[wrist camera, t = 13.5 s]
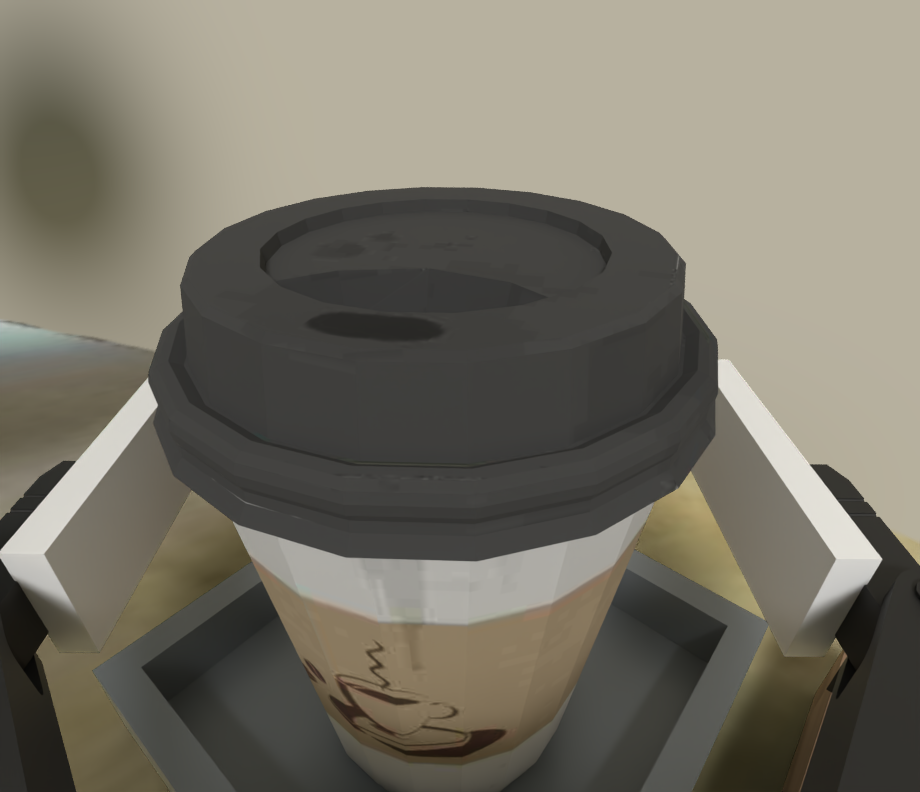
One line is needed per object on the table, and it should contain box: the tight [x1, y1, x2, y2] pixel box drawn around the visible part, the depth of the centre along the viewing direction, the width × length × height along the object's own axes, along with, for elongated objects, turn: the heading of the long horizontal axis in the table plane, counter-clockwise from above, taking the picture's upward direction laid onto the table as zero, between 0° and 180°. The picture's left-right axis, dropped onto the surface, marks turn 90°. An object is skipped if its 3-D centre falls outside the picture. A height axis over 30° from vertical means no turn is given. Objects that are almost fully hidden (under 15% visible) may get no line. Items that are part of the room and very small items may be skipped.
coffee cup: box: [148, 187, 718, 792], centre depth 15 cm, size 11×11×15 cm
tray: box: [92, 549, 768, 792], centre depth 19 cm, size 15×15×3 cm
